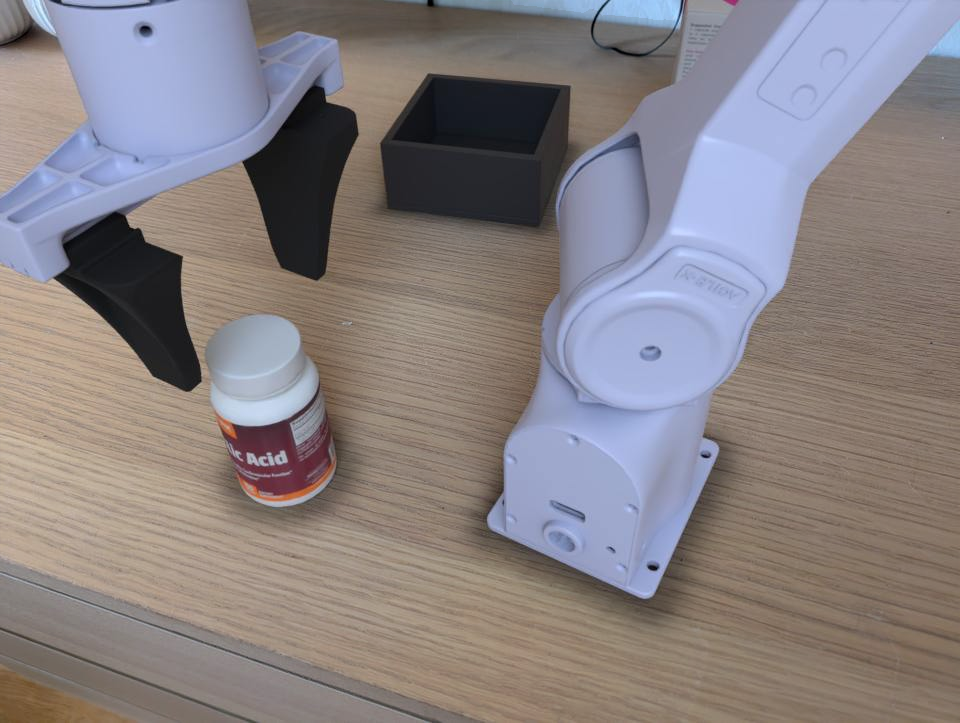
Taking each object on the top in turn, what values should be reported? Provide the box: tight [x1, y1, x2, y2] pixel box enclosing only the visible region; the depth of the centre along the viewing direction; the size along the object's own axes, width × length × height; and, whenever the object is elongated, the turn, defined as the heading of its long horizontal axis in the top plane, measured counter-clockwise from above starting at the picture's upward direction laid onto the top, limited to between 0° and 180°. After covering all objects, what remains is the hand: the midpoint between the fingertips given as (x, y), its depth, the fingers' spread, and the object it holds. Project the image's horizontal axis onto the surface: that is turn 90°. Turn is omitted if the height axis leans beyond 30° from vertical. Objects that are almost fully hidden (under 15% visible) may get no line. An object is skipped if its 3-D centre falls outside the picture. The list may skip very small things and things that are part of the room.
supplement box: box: [670, 0, 739, 85], centre depth 57 cm, size 6×6×12 cm
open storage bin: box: [379, 72, 572, 228], centre depth 58 cm, size 11×11×5 cm
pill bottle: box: [204, 313, 338, 508], centre depth 37 cm, size 5×5×8 cm
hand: (244, 321), depth 34 cm, fingers open, 7 cm apart
